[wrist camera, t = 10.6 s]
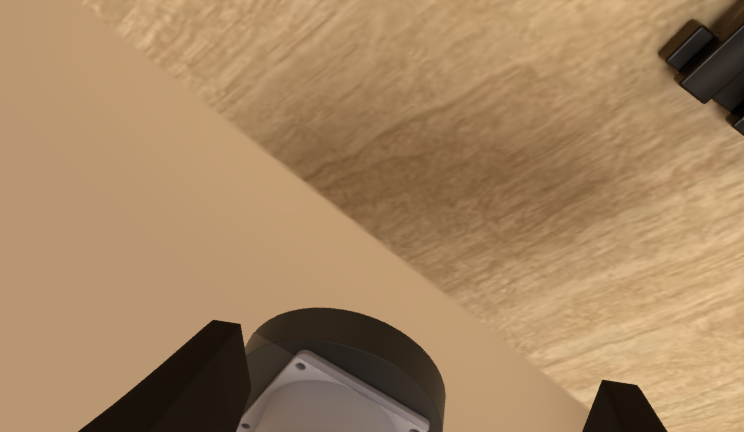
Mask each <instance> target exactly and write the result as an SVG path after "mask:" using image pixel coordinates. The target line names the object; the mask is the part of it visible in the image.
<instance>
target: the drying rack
mask: <svg viewBox="0 0 744 432" xmlns="http://www.w3.org/2000/svg"><path fill="white" fill-rule="evenodd" d="M659 56H660V57H661V58H662V59H663V60H664V61H665V62H666V63H667V64H668V65H670V66H671V67H672V68H673V69H675V70H676V71H677V72H678V74H677V75H675V77H674V80H675V81H676V82H677V84H678V85H679V86H681V87H682V88H683V89H685V90H686V91H687V92H688V93H690V94H691V95H692V96H693V97H695V98H696V99H697V100H699V101H700V102H701V103H703V104H705V103H707V102H708V101H709V100H710V99H713V100H714V101H715V102H716V103H718V104H719V105H720V106H721V107H723V108H724V109H725V110H727V111H728V112H729V113H730V114H729V115H728V116H727V117H726V118H725V120H726V121H727V122H728V123H729V124H730V125H731V126H732V127H733V128H734V129H735V130H737V131H738V132H739V133H741V134H742V135H743V136H744V11H743V12H742V13H741V14H740V15H739V16H738V17H737V18H736V19H735V20H734V21H733V22H732V23H730V24H729V25H728V26H727V27H726V28H725V29H724V30H723V31H722V32H721V33H720V34H719V35H718V36H716V35H715V34H714V33H712V32H711V31H710V30H709V29H707V28H706V27H705V26H704V25H702V24H701V23H699V22H698V21H696V20H692V21H690V22H689V23H688V24H687V25H686V26H685V27H684V28H683V29H682V30H681V31H680V32H679V33H678V34H677V35H676V36H675V37H674V38H673V39H672V40H671V41H670V42H669V43H668V44H667V45H666V46H665V47H664V48H663V49H662V50H661V51H660V52H659Z"/></svg>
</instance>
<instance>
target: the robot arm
mask: <svg viewBox="0 0 744 432" xmlns="http://www.w3.org/2000/svg"><path fill="white" fill-rule="evenodd" d="M301 363H302V364H301ZM251 389H252V388H251V382H250V376H249V370H248V365H247V359H246V353H245V347H244V342H243V336H242V330H241V325H240V324H237V323H231V322H224V321H218V320H213V321H211V322H210V323H209V324H207V325H206V326H205V327H204V328H203V329H202V330H200V331H199V332H198V333H197V334H196V335H195V336H194V337H192V338H191V339H190V340H189V341H188V342H187V343H186V344H184V345H183V346H182V347H181V348H180V349H179V350H177V351H176V352H175V353H174V354H173V355H172V356H171V357H169V358H168V359H167V360H166V361H165V362H164V363H163V364H161V365H160V366H159V367H158V368H157V369H156V370H154V371H153V372H152V373H151V374H150V375H148V376H147V377H146V378H145V379H144V380H142V381H141V382H140V383H139V384H138V385H137V386H135V387H134V388H133V389H132V390H130V391H129V392H128V393H127V394H126V395H124V396H123V397H122V398H121V399H119V400H118V401H117V402H116V403H114V404H113V405H112V406H111V407H109V408H108V409H107V410H105V411H104V412H103V413H102V414H100V415H99V416H98V417H97V418H95V419H94V420H92V421H91V422H90V423H89V424H87V425H86V426H85V427H83V428H82V429H81V430H80V431H78V432H428V430H429V424H430V422H429V421H428V419H426V418H425V417H423V416H422V415H420V414H418V413H416V412H415V411H413V410H411V409H410V408H408V407H406V406H404V405H403V404H401V403H399V402H398V401H396V400H394V399H393V398H391V397H389V396H387V395H386V394H384V393H382V392H381V391H379V390H377V389H375V388H374V387H372V386H370V385H369V384H367V383H365V382H363V381H362V380H360V379H358V378H357V377H355V376H353V375H352V374H350V373H348V372H346V371H345V370H343V369H341V368H340V367H338V366H336V365H334V364H333V363H331V362H329V361H328V360H326V359H324V358H322V357H321V356H319V355H317V354H316V353H314V352H312V351H310V350H307V349H303V350H300V351H299V352H298V353H297V354H296V355H295V356H294V357H293V358H292V359H291V361H290V362H289V363H288V364H287V365H286V366H285V367H284V369H283V370H282V371H281V372H280V373H279V374H278V375H277V377H276V378H275V379H274V380H273V381H272V382H271V383H270V385H269V386H268V387H267V388H266V389H265V390H264V391H263V392H262V394H261V395H260V396H259V397H258V398H257V399H256V400H255V402H254V403H253V404H252V405H251V406H250V407H249V408H248V410H247V411H246V412H245V413H244V414H243V412H244V410H245V407H246V404H247V401H248V398H249V395H250V392H251ZM582 432H667V430H666V429H665V427H664V426H663V424H662V422H661V421H660V419H659V418H658V416H657V415H656V413H655V411H654V410H653V408H652V407H651V405H650V404H649V402H648V400H647V399H646V397H645V396H644V394H643V392H642V391H641V390H640V388H639V387H638V386H637V385H633V384H627V383H620V382H614V381H607V380H602V382H601V384H600V387H599V390H598V392H597V395H596V397H595V400H594V403H593V405H592V408H591V410H590V413H589V416H588V418H587V421H586V423H585V426H584V429H583V431H582Z"/></svg>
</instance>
